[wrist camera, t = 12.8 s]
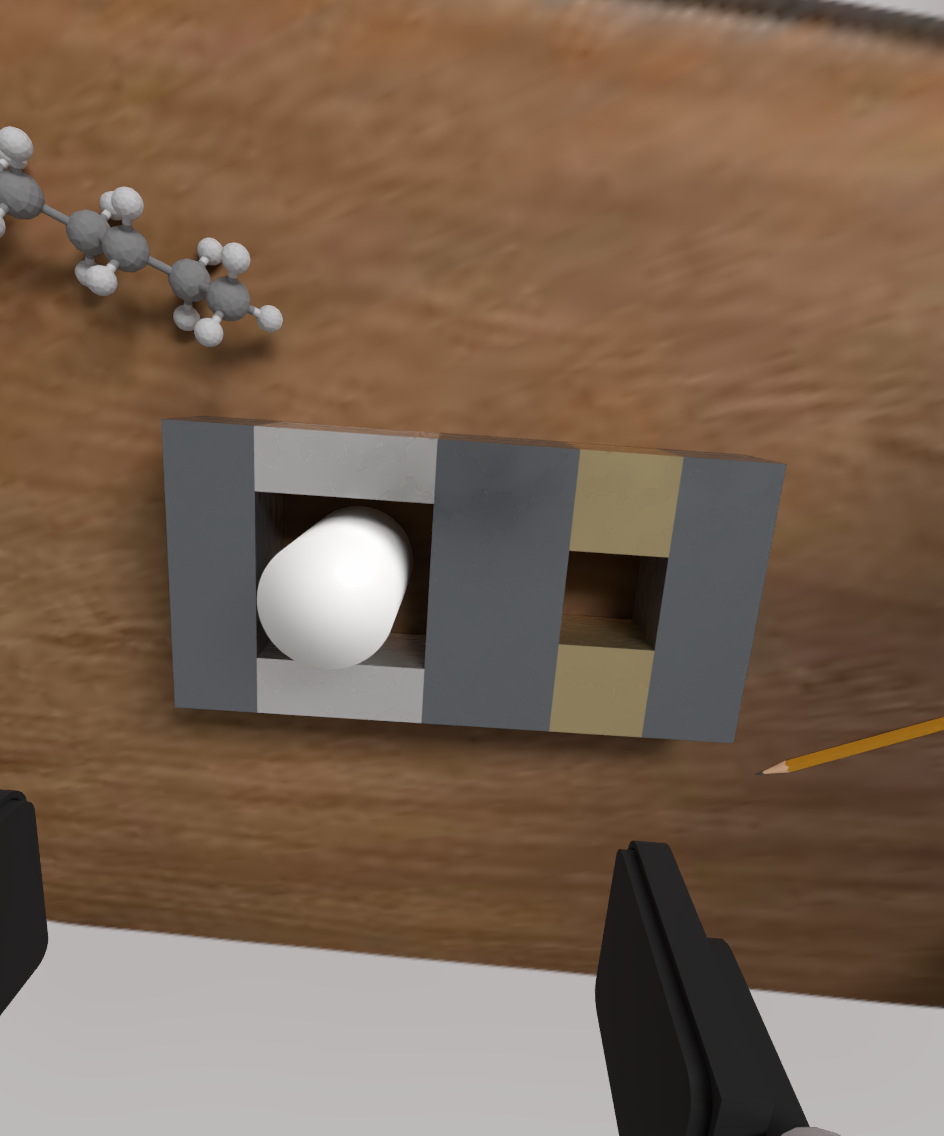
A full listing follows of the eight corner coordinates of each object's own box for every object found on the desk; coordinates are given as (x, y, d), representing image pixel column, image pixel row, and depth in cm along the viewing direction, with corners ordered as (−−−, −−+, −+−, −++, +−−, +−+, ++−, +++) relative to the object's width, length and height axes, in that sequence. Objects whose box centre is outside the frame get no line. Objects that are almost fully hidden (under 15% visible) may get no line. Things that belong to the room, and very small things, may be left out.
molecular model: (-36, 226, 27) (-145, 190, 22) (-10, 121, 26) (-118, 60, 21) (275, 373, 29) (236, 368, 24) (311, 278, 28) (277, 254, 23)
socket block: (202, 415, 29) (161, 419, 25) (745, 455, 29) (786, 464, 26) (210, 669, 32) (175, 707, 28) (702, 701, 32) (733, 743, 29)
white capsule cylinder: (305, 502, 30) (255, 532, 23) (416, 509, 30) (397, 541, 23) (305, 607, 31) (257, 665, 24) (411, 613, 31) (392, 673, 25)
